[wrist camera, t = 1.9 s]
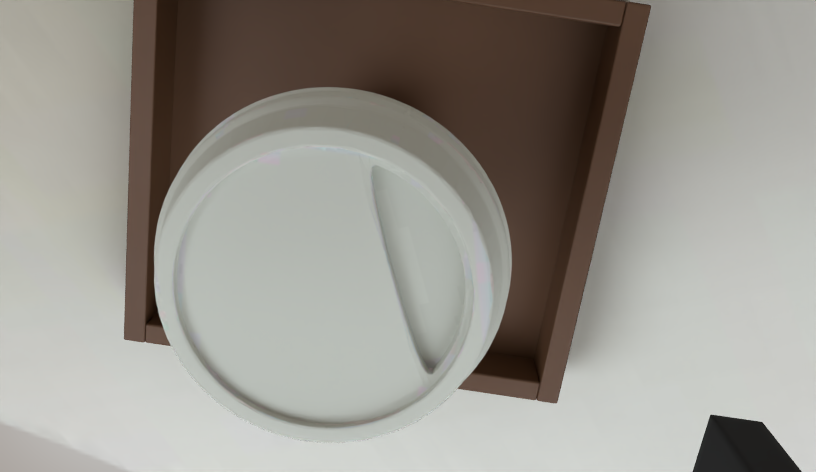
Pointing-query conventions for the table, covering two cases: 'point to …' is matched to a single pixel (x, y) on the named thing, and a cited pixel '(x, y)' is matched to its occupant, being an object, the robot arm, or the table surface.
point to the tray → (430, 94)
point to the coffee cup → (331, 264)
